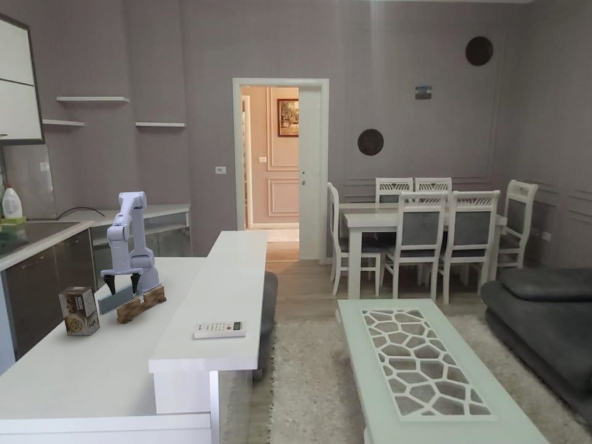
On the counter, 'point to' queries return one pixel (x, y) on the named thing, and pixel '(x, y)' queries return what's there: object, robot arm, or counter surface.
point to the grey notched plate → (118, 298)
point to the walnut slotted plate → (140, 305)
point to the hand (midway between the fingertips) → (124, 293)
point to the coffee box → (79, 310)
